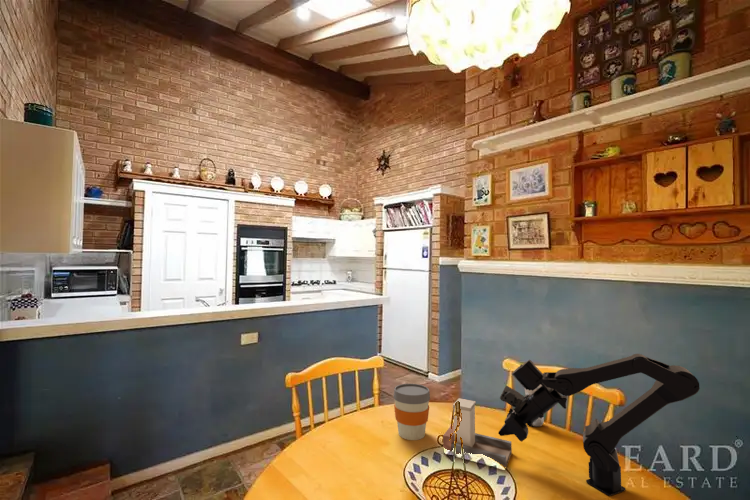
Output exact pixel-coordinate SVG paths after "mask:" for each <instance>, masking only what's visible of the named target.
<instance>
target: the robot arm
mask: <svg viewBox="0 0 750 500" xmlns="http://www.w3.org/2000/svg"><path fill="white" fill-rule="evenodd" d="M637 374H643V375H645V376H647V377H650V378H652V379H653V380H655V382H654V383H653V384H652V386H651V387H650V388H649V390H647V391H645V393H643V394H641V395H640V396H639V397H638V398H636V399H635V400H634V401H632V402H631V403H630V404H628V405H627V406H626V407H625V408H623V409H622V410H621V411H619V412H618V413H617V414H615V415H613V416H612V417H611V418H610V419H608V420H607V421H604V422H600V421H599V420H598V418H595V419H594V420H593V421H592V422H591V423H590V424H589V425H584V431H583V433H582V443H583V444H582V445H583V450H584V452H585V453H586V454H587V456H589V461H588V479H586V480H585V482H586V484H588V485H590V486H592V487H594V488H595V489H597V490H599V492H602V493H604V494H606V496H610V497H611V496H614V495H617V494H620V493H622V492H625V491H626V487H625V486H622V469H621V468H622V467H621V466H620V460H619V456H618V455H619V454H618V451H617V449H616V447H617V446H618V444H619V442H620V440H622V438H623V437H625V436H626V435H627V434H629V433H630V432H632V431H633V430H634V429H636V428H637V427H639V425H642V423H644V422H645V421H647V420H648V419H649V418H651V417H652V416H653V415H655V414H656V413H658V412H659V411H660V410H661V409H663V408H664V407H666V406H667V405H669V404H673V403H678V402H681V401H684V400H686V399H689V398H691V397H693V396H694V395H696V394H698V392H699V391H700V389H701V388H700V382H699V380H698V378H697V377H696V376H695V375H694V374H693V373H692V372H690V370H688V369H687V368H685V367H684V366H680V365H674V364H673V365H669V364H666V363H664V362H661V361H658V360H656V359H653V358H651V357H648V356H645V355H644V354H642V353H633V354H632V355H630V356H629V355H628V356H626V357H622V358H619V359H614V360H612V361H607V362H604V363H600V364H596V365H592V366H588V367H583V368H582V367H581V368H580V367H575V368H574V367H573V368H572V367H571V368H570V367H569V368H562V369H558V370H557V371H556V372H553V371H552V372H550V371H549V372H542V371H541V370H540V369H539V368H538V367H537V366H536V364H535V363H534V362H533V361H532V360H531V359H528V360H527V361H525V362H524V363H522V364H520V365H519V366H518V367H517V368H516V369H515V370H514V371H513V372H512V373H511V375H512V376H513V377H514V378H515V379H516V380H517V382H518V383H520V385H521V386H522V387H523V388H524V390H525V389H526V390H529V391H530V390H532V391H533V390H534V389H536V388H537V387H538V386H539V385H540V384H541V385H542V386H541V387H540V388H538V389H537V390H536V391H535V392H533V393H532V394H531V395H530V394H529V395H528V394H527V395H526V396H525V395H522V394H521V393H520V392H518V391H517V390H515V389H514V388H511V387H510V386H508V385H505V387H504V389H503V390H502V392H501V394H500V397H499V399H500V400H501V401H502V402H505V403H507V404H508V405H510V406H511V408H509V411H508V413H507V415H506V418H505V419H504V421H503V422H504V424H503V425H502V427H501V428H500V429H499V431H498V433H497V434H498V435H499V436H501V437H503V436H504V437H505V436H510V435H514V436H515V437H516V438H517V439H518V440H519V441H520V442H523V441H525V440H526V439H527V438H528V435H529V428H531V427H533V426H532V425H533V422H534V421H536V420H537V419H538V418H542V417H545V414H546V413H548V412H549V411H550V410H551V409H553V408H554V407H555V406H557V405H558V404H559V405H560V406H561V407H562V408H563V409H564V410H566V409H567V405H568V404H567V401H568V397H570V396H573V395H575V394H578V393H580V392H582V391H584V390H585V389H587V388H588V387H590V386H593V385H596V384H599V383H603V382H607V381H612V380H616V379H619V378H625V377H627V376H632V375H637ZM512 407H513V408H512Z"/></svg>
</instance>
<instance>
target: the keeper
mask: <svg viewBox="0 0 750 500" xmlns="http://www.w3.org/2000/svg"><path fill="white" fill-rule="evenodd" d="M457 401H459V402H460V409H461V413H462V421H461V422H460V426H459V430H458V431H457V432H456V434H457V443H458V444H461V440H460V437H461V438H462V440H463V445H466V446H470V447H473V445H474V443H475V433H476V407H475V406H476V404H477V403H476V402H477V401H475V400H469V399H464V398H460V397H459V398H457V400H455V402H454V403H453V404H452V408H453V413H454V412H455V403H456V402H457ZM453 423H454V431H455V429H456V426H457V416H455V418H454V417H453ZM454 441H455V433H454Z"/></svg>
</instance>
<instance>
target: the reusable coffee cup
mask: <svg viewBox="0 0 750 500" xmlns="http://www.w3.org/2000/svg"><path fill="white" fill-rule="evenodd" d="M430 392H431V391H430V389H429V387H427V386H425V385H423V384H418V383H402V384H398V385H396V386H395V387H394V389H393V399H394V405H393V406H394V408H393V409H394V415H395V420H396V423H397V431H398V432H397V433H398V435H399V437H400V438H402V439H405V440H408V441H418V440H422V439H424V437H425V435H426V428H427V427H426V426H427V422H428V420H429V414H430V405H429V404H430V400H431V394H430Z"/></svg>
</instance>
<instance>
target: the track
mask: <svg viewBox="0 0 750 500" xmlns="http://www.w3.org/2000/svg"><path fill="white" fill-rule="evenodd" d="M452 424H453V426H452V429H451V425H450V426H449V427H448V429H447V430H446V431H445V432H444V434H442V448H443V447H444V448H445V449H447V450H450V451H452V450H453V448H454V422H453V423H452ZM451 433H453V434H452V436H451V440H450V441H449V439H450V434H451ZM463 449H464V453H465V452H466V453H470V454H471V453H472V454H483V455H485V456H487V457H490V458H492V459H494V460H495V461H497V462H499V463H500V464H502V465H503V466H504V467H506V468H507V467H508V464H509V462H510V459H511V456H512V453H513V452H512V451H513V449H512V441H510V440H508V439H507V440H506V439H502V438H497V437H493V436H489V435H484V434H480V433H476V432H475V443H474V445H473V447H470V446H466V445H463ZM459 453H460V454H461V444H458V443H456V454H459Z"/></svg>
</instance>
